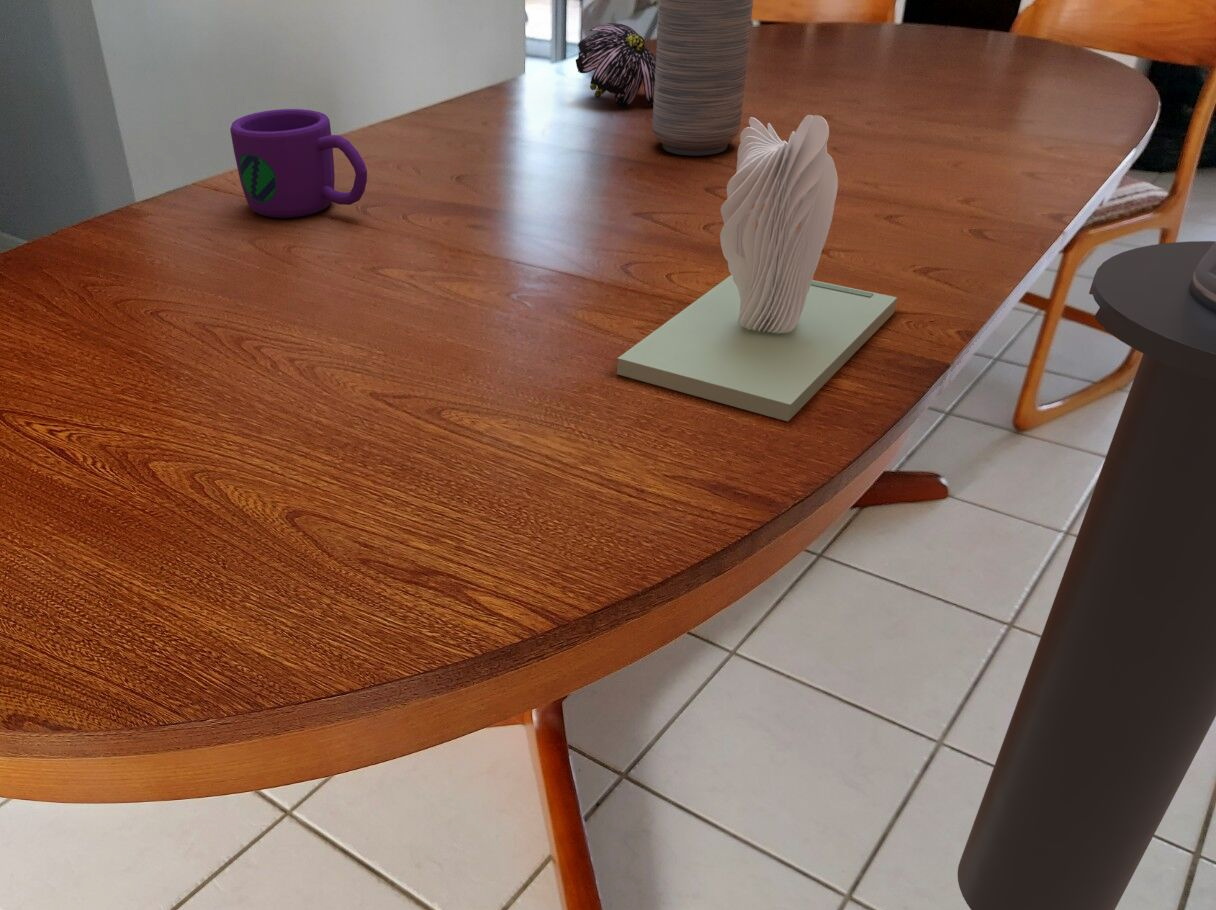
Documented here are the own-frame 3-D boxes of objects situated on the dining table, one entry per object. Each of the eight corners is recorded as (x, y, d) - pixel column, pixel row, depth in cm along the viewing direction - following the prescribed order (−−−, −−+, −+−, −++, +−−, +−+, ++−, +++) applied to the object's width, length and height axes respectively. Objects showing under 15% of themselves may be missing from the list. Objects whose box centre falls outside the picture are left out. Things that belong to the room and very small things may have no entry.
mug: (224, 214, 123) (208, 126, 117) (286, 187, 131) (273, 104, 125) (340, 235, 116) (329, 143, 110) (398, 206, 124) (391, 118, 118)
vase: (656, 160, 135) (667, -40, 122) (646, 137, 145) (655, -51, 131) (745, 157, 135) (766, -43, 122) (730, 134, 144) (748, -55, 131)
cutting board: (741, 280, 101) (743, 264, 100) (894, 312, 94) (897, 295, 93) (616, 374, 86) (617, 356, 85) (788, 422, 79) (791, 402, 78)
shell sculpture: (724, 302, 93) (746, 90, 83) (818, 312, 91) (853, 95, 80) (706, 339, 87) (726, 115, 77) (806, 352, 85) (841, 122, 74)
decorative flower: (617, 46, 148) (576, -1, 157) (585, 122, 156) (548, 73, 164) (696, 64, 155) (653, 18, 164) (662, 136, 163) (622, 89, 171)
